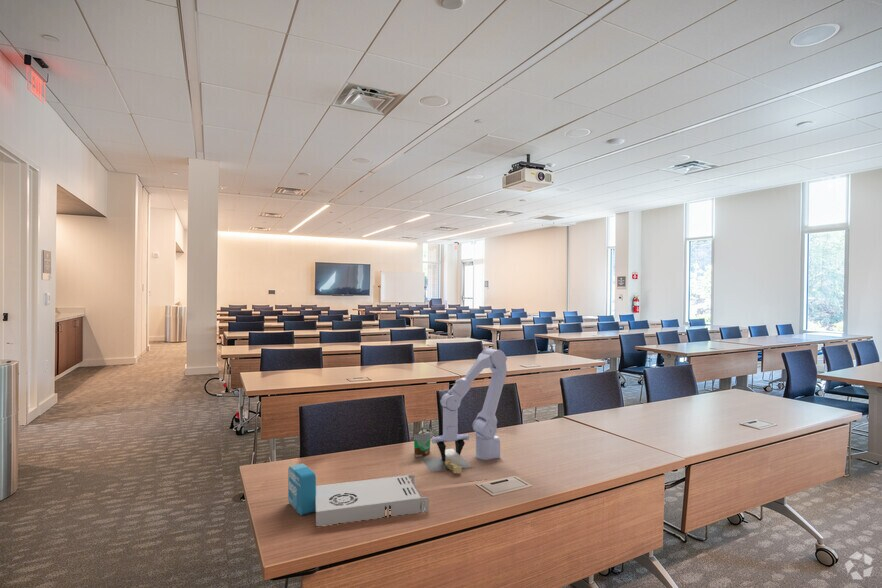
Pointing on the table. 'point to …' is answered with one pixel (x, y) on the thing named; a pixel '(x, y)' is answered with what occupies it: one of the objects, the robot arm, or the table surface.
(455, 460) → the white rectangular block
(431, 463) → the base plate
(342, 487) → the power supply unit
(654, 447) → the table surface
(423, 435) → the food container
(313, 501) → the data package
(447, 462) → the brass T-key
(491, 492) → the table surface
